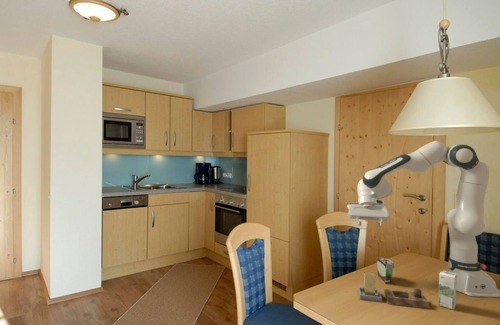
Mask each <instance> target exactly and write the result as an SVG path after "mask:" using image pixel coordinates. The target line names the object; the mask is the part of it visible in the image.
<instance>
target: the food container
mask: <svg viewBox="0 0 500 325" xmlns="http://www.w3.org/2000/svg"><path fill="white" fill-rule="evenodd" d="M394 264H395V263H394V262H393V261H392V260H391V259H389V258H385V257H379V256H378V257H376V269H377V270H376V271H377V272H376V274H377V275H376V277H378V278H379V279H380V280H381V281H382V282H383V283H384V284H391V283H392V281H393V280H392V279H393V269H395V265H394Z"/></svg>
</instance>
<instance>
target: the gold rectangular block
mask: <svg viewBox="0 0 500 325" xmlns="http://www.w3.org/2000/svg"><path fill="white" fill-rule="evenodd" d="M376 277H377V275H376V273H373V272H364V273H363V288H364V295H368V296H375V290H376V289H377V286H376V282H377V280H376V279H377V278H376Z"/></svg>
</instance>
